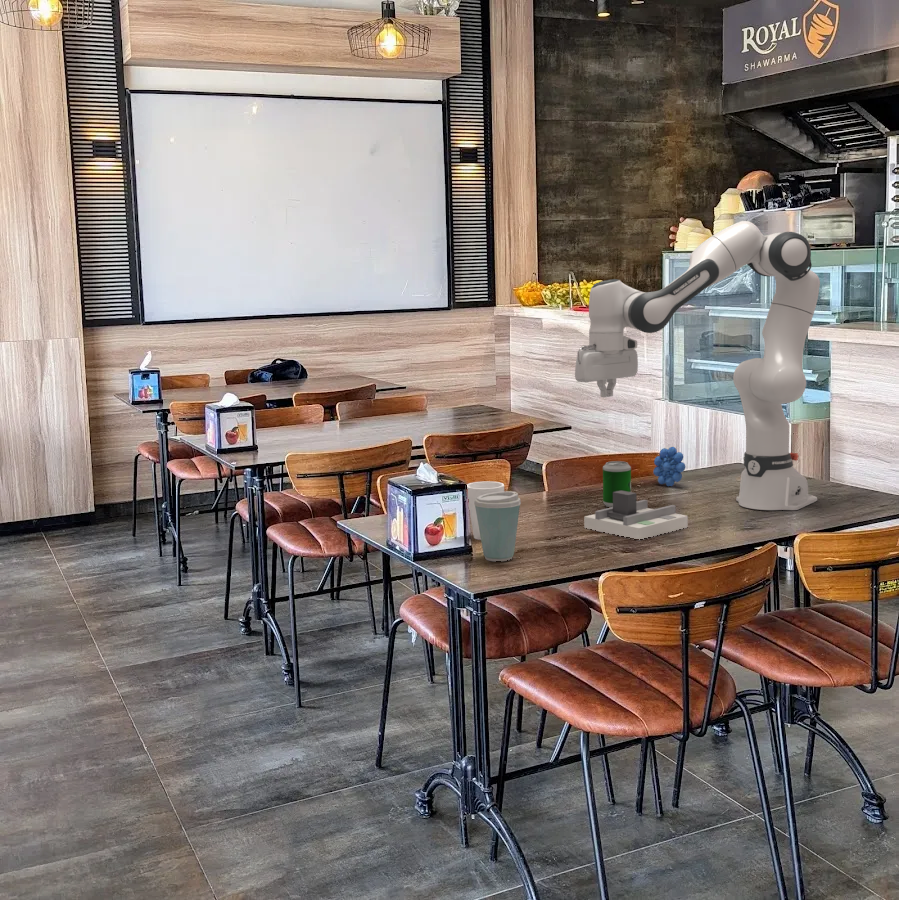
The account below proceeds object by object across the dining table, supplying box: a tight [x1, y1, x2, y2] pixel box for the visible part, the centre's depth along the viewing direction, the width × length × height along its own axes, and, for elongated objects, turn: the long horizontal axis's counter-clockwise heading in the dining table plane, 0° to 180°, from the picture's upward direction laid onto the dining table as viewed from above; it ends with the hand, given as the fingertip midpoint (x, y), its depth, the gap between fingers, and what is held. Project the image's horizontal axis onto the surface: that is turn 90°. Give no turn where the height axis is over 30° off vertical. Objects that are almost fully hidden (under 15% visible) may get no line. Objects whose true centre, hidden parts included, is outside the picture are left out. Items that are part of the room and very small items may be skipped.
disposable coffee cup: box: [474, 490, 522, 562], centre depth 251 cm, size 11×11×15 cm
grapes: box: [653, 446, 687, 487], centre depth 325 cm, size 12×7×12 cm, turn 38°
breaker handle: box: [607, 490, 639, 520], centre depth 273 cm, size 5×7×6 cm
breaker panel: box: [583, 499, 689, 541], centre depth 276 cm, size 18×18×5 cm
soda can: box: [602, 460, 632, 508], centre depth 300 cm, size 8×8×12 cm
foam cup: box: [466, 480, 505, 541], centre depth 271 cm, size 10×9×13 cm
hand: (606, 396), depth 288 cm, fingers closed
